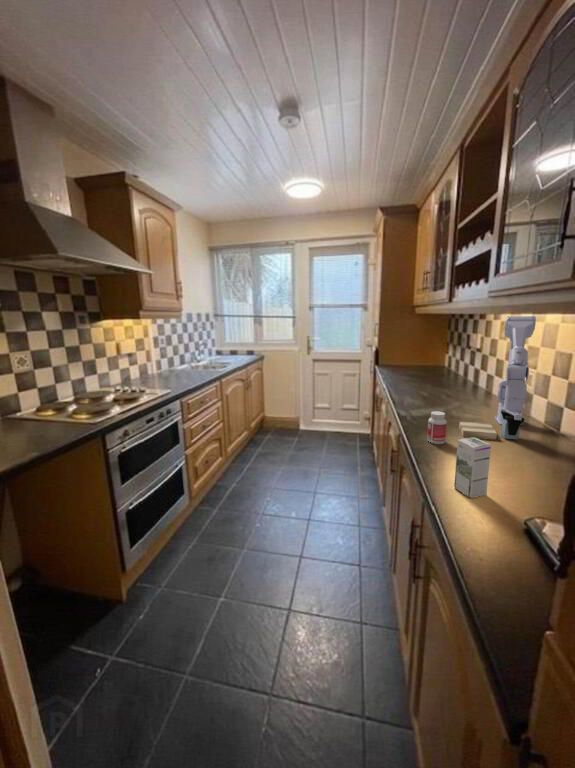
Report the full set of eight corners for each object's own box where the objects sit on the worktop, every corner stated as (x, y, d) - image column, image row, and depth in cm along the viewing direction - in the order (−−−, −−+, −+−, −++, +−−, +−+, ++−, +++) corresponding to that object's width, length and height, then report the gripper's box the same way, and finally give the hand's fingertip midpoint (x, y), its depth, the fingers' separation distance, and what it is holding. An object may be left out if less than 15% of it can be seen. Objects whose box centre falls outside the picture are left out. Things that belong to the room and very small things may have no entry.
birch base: (459, 427, 138) (459, 421, 138) (489, 429, 135) (490, 423, 134) (463, 436, 128) (463, 430, 128) (496, 439, 125) (497, 433, 124)
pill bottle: (448, 442, 124) (451, 413, 121) (438, 446, 120) (440, 416, 118) (433, 437, 129) (435, 409, 126) (423, 441, 126) (425, 412, 123)
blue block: (501, 434, 129) (502, 419, 128) (514, 435, 127) (516, 420, 126) (504, 438, 125) (505, 422, 123) (518, 439, 123) (520, 423, 122)
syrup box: (487, 495, 89) (493, 443, 86) (469, 499, 87) (474, 447, 84) (470, 485, 94) (474, 436, 91) (452, 488, 92) (456, 438, 89)
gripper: (496, 392, 131) (493, 425, 134) (506, 401, 117) (502, 438, 120) (518, 393, 128) (514, 426, 131) (530, 403, 115) (525, 440, 118)
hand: (510, 432), depth 126 cm, fingers closed on blue block, 4 cm apart
